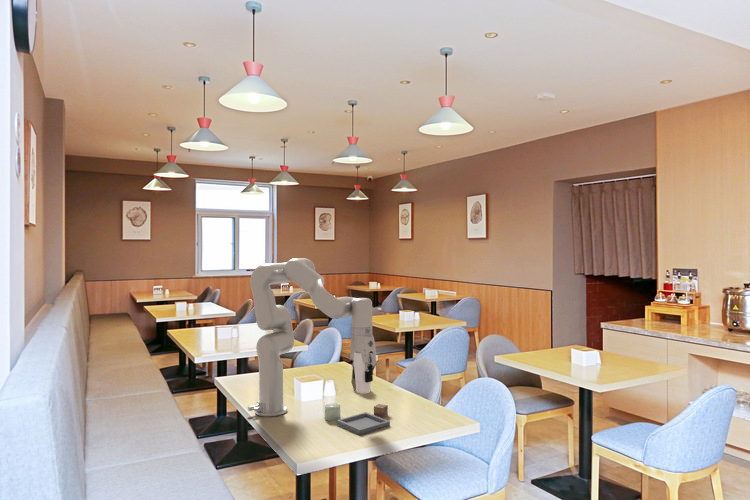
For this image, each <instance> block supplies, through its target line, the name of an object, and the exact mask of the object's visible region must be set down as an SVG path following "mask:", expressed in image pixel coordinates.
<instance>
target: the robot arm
mask: <svg viewBox="0 0 750 500" xmlns="http://www.w3.org/2000/svg"><path fill="white" fill-rule="evenodd" d="M249 281H250V282H249V283H250V289H251V294H252V297H253V305H254V314H255V319H256V325H257V327H258V329H260V330H261V331H271V330H272V332H271V333H270V332H269V333H266V334H264V335H262V336H261V337H260V338H259V339H258V340H257V342H256V346H255V347H256V354H257V360H258V361H257V362H258V381H259V382H258V391H259V392H258V394H259V395H258V396H259V398H258V401H256V403H255V404H254V405H253V404H252V405H248V406H247V411H248V412H251V411H254V412H255V414H256V415H257V416H260V417H276V416H277V417H278V416H281V415H284V414H285V413H287V412H288V407H287V406H286V405H284V365H283V362H282V359H281V355H284V354H286V353H289V352H291V350H292V349H293V348H294V345H295V337H294V327H293V322H292V321H293V320H292V317H291V313H290V311H289V309H288V308H287V307H286V306H285V305H281V304H277V303H276V297H275V294H274V291H273V289H272V288H271V286H272V285H277V284H278V285H279V284H285V283H286V284H287V283H292V282H293V283H294V284H296V286H298V287H299V288H301V289H302V290H303V291H305V292H306V293H307V295H309V296H310V299H311V302H312V303H313V304H314V305H315V307H316V308H317V309H318V310H320V311H321V313H323V314H325V316H327V317H329V318H331V319H333V320H334V319H335V320H339V319H342V318H347V317H351V341H350V354H349V355H348V358H349V360H350V363H351V367H352V369H353V378H354V379H355V371H354V352H355V353H361V355H362V361H363V363H364V364H365V368H366V371H365V382H366V383H367V382H371V383H372V382H373V381H374V379H373V378H374V377H373V375H374V373H373V372H374V370H375V367H376V365H378V360H377V349H376V341H375V338H374V335H373V301H372V300H371V298H369V297H358V298H357V297H352V296H343V297H335V296H334V295H332V293H330V292H329V291H328V290H327V289H326V288H325V287H324V285H325V278H324V276H323V275H321V274H319V273H318V271H316V266H315V263H314V262H313V261H312V260H311V259H309V258H305V257H302V258H301V257H300V258H291V259H289V260H288V261H287V262H278V263H277V262H276V263H275V262H274V263H271V262H270V263H264V264H261V265H259V266H257V267H256V268H255V269H254V270H253V271H252V272H251V275H250V279H249ZM369 358H370V362H368V360H369ZM368 364H370V366H369V367H368Z"/></svg>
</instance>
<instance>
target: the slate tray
mask: <svg viewBox="0 0 750 500" xmlns="http://www.w3.org/2000/svg"><path fill="white" fill-rule="evenodd" d="M336 425H337V426H338V427H340V428H342V429H345V430H347V431H349V432H352V433H354V434H356V435H359V436H362V435H365V434H369V433H373V432H375V431H378V430H381V429H385V428H388V427H390V426H391V422H390V420H387V419H385V418H380V417H377V416H375V415H374V414H371V413H370V412H362V413H358V414H354V415H351V416H347V417H344V418H340V419H339V420H337V421H336Z"/></svg>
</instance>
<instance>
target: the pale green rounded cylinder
mask: <svg viewBox="0 0 750 500" xmlns="http://www.w3.org/2000/svg"><path fill="white" fill-rule="evenodd" d="M339 419H341V404H339V403H327V404H325V405H324V420H325V421H327V422H337V420H339Z"/></svg>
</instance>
